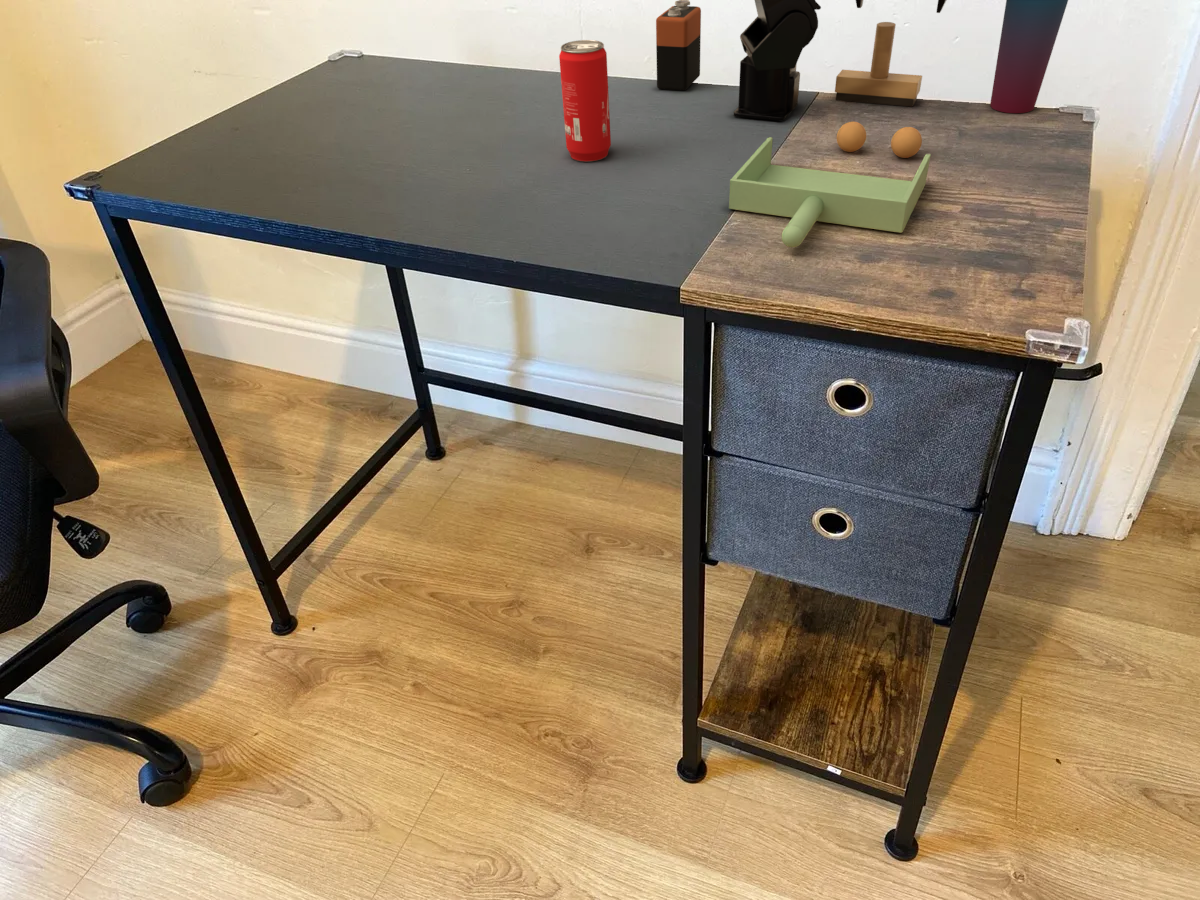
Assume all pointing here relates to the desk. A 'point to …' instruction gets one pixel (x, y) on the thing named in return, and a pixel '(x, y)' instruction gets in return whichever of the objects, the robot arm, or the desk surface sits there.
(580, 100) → the beverage can
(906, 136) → the cork ball
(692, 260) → the desk surface
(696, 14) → the battery
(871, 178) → the dustpan
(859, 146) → the cork ball
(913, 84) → the brush
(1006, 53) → the cup
